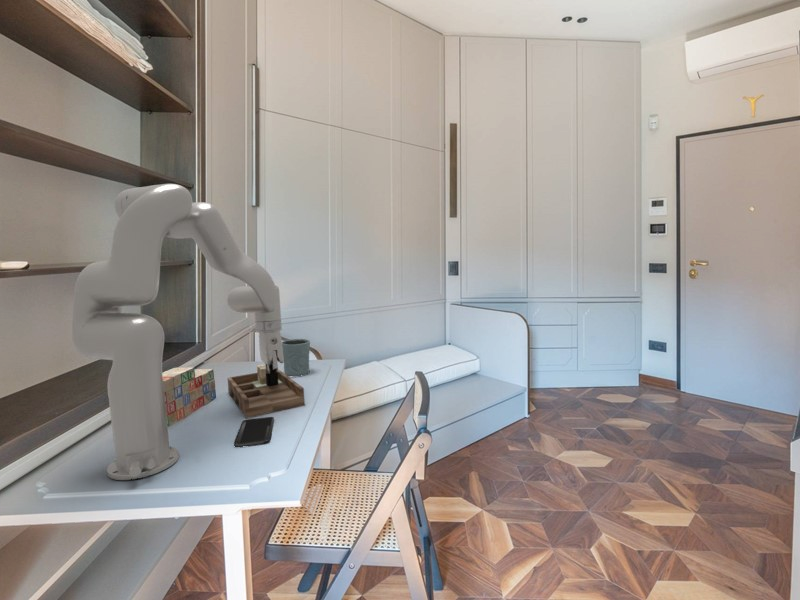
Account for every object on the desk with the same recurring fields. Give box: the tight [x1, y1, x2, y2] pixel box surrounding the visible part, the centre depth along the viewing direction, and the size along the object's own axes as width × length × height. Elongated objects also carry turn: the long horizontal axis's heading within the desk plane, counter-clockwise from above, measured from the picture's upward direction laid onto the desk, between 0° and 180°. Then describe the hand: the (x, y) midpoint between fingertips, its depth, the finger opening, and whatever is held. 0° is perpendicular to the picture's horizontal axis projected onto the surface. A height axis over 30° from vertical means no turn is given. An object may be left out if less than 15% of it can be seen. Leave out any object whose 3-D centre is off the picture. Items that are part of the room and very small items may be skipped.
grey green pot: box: [282, 338, 311, 377], centre depth 151 cm, size 10×10×12 cm
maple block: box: [256, 364, 268, 385], centre depth 134 cm, size 5×5×5 cm
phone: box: [233, 416, 275, 448], centre depth 100 cm, size 8×1×15 cm
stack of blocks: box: [162, 366, 217, 427], centre depth 117 cm, size 21×6×12 cm, turn 172°
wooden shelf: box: [227, 368, 306, 419], centre depth 125 cm, size 26×16×5 cm, turn 32°
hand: (272, 385), depth 127 cm, fingers closed
